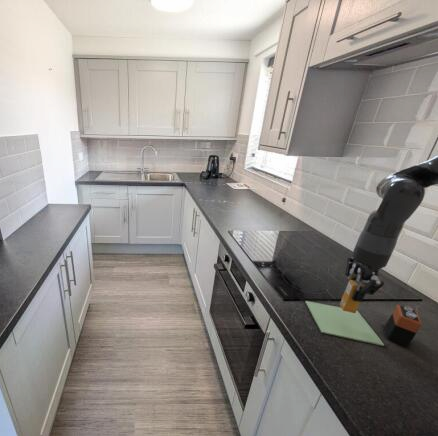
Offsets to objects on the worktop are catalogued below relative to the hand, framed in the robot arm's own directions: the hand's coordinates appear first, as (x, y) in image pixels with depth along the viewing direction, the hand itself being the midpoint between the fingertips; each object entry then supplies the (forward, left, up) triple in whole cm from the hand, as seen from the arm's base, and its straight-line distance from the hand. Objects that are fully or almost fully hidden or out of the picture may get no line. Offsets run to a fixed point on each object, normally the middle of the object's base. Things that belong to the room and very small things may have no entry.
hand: (352, 295), depth 71 cm
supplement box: (0, 0, -5) cm, 5 cm away
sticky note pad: (0, 0, -10) cm, 10 cm away
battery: (-14, +2, -11) cm, 18 cm away
